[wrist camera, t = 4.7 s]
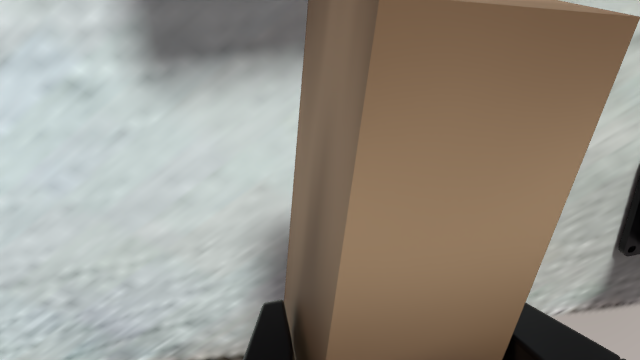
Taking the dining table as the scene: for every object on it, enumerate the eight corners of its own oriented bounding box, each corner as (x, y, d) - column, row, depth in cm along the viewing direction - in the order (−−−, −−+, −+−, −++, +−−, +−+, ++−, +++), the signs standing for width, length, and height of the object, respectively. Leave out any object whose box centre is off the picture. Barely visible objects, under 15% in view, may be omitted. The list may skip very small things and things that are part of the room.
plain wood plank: (373, 421, 13) (420, 563, 10) (273, 435, 13) (291, 590, 10) (478, -16, 8) (640, 17, 5) (311, -33, 7) (380, -7, 4)
